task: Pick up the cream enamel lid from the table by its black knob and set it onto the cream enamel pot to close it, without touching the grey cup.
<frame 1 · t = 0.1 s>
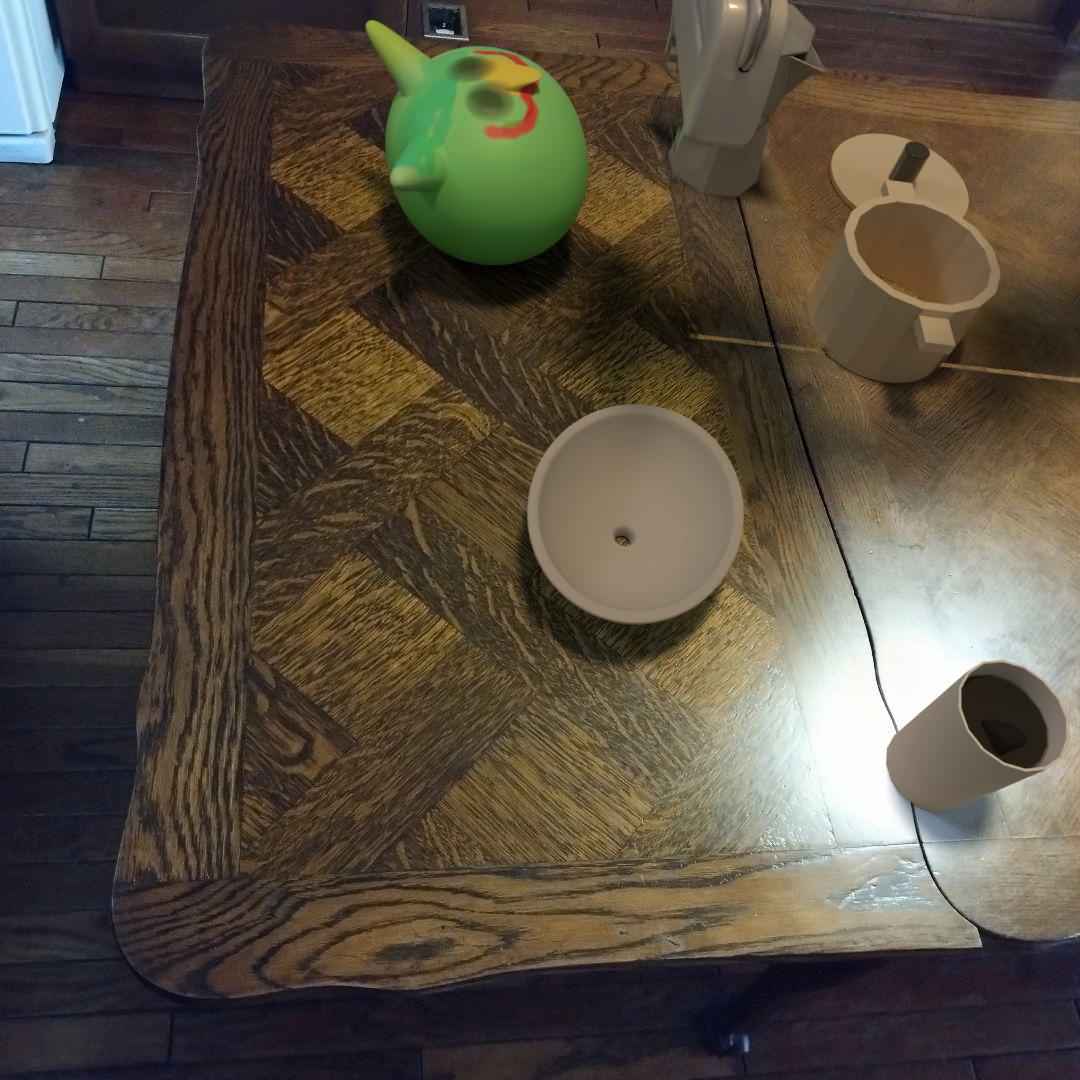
hand: (681, 111, 62), 20 cm above the table, tool pointing down, fingers open, 8 cm apart
toy bird: (471, 227, 83), on the table
coffee maker: (701, 166, 92), on the table
pot: (875, 325, 85), on the table
dish: (620, 544, 70), on the table
lid: (897, 185, 94), point 1 cm above the table
grey cup: (927, 769, 64), on the table
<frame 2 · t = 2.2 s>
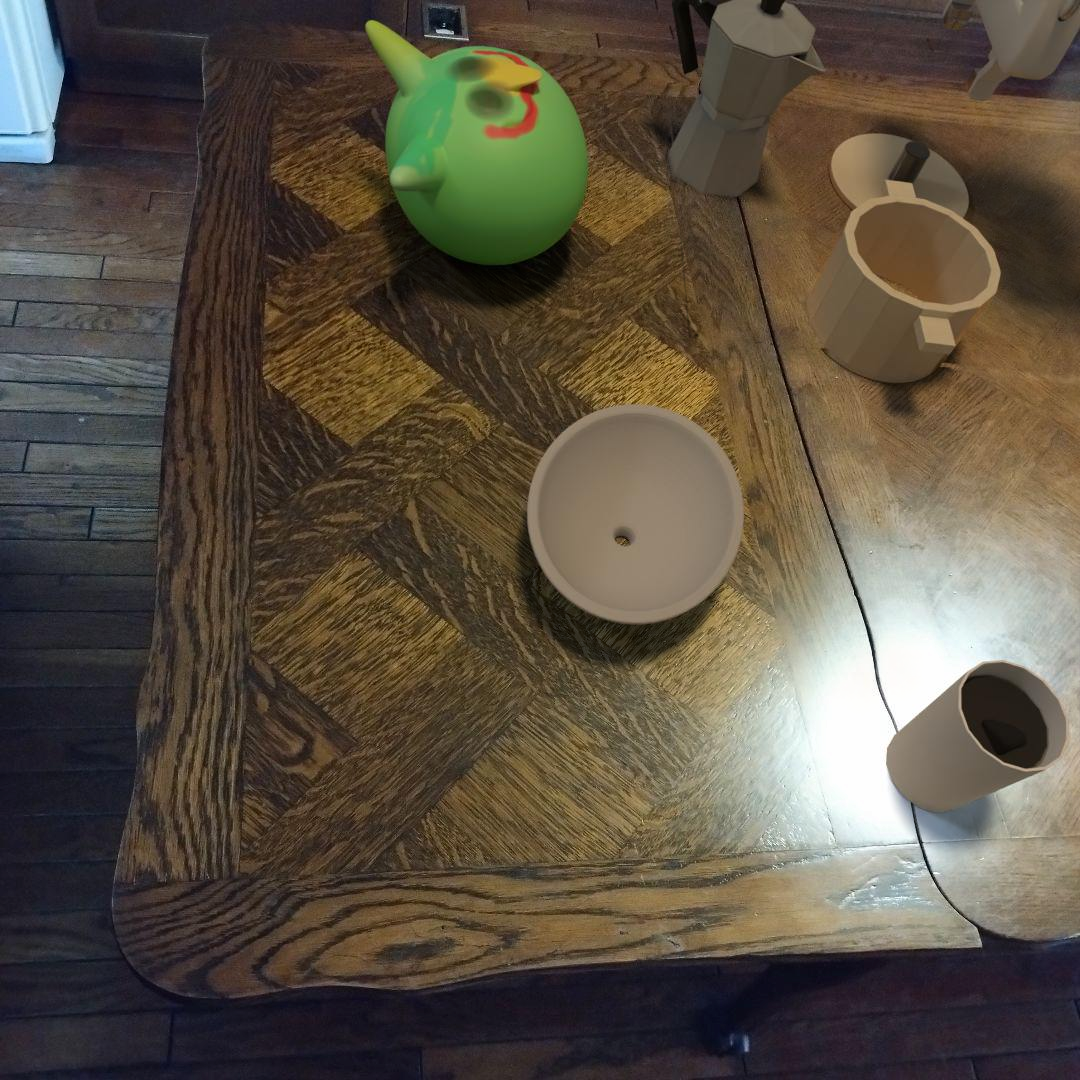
hand: (962, 58, 82), 14 cm above the table, tool pointing down, fingers open, 8 cm apart
nothing on the table moved.
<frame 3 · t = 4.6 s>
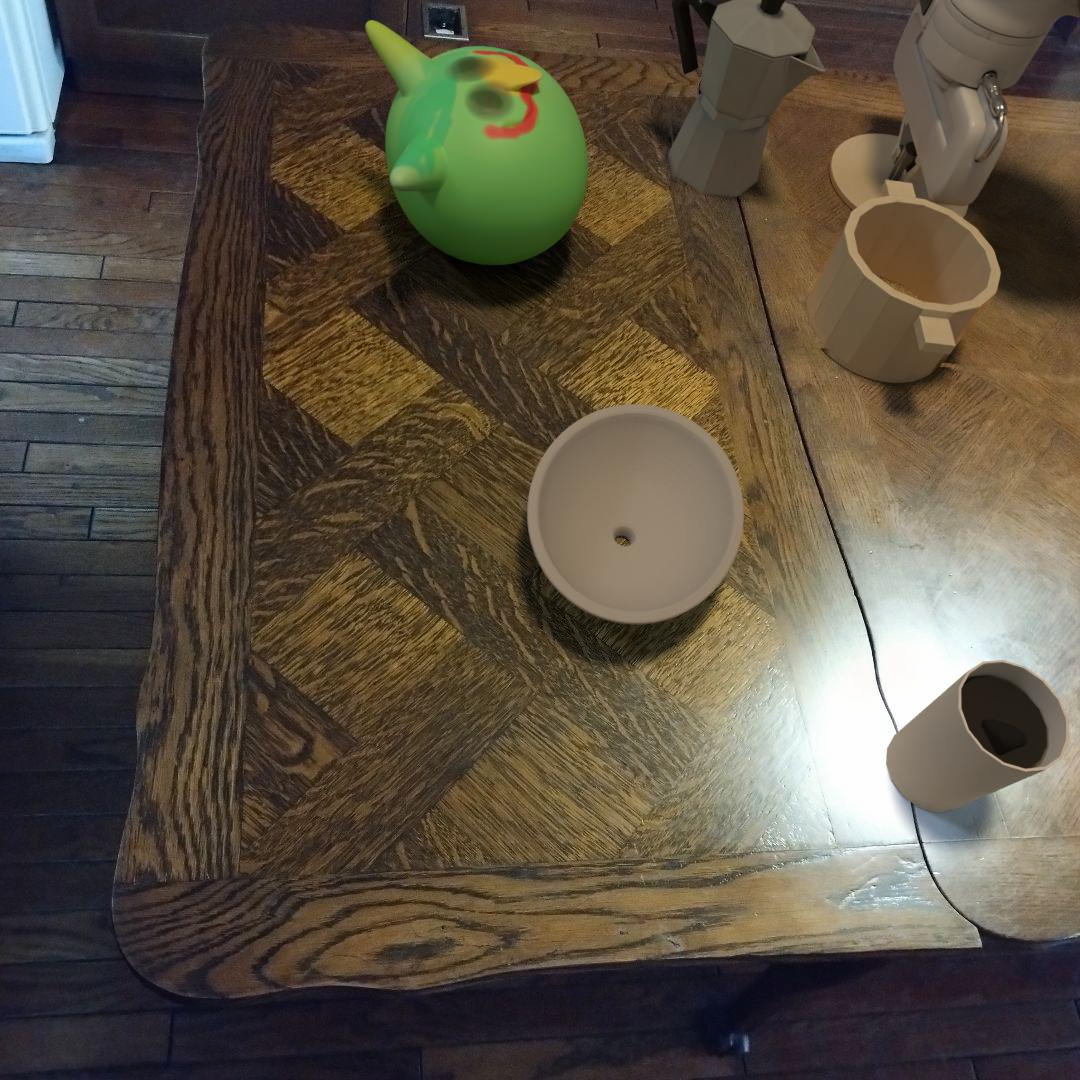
hand: (903, 176, 93), 2 cm above the table, tool pointing down, fingers closed on lid, 2 cm apart
lid: (897, 185, 94), point 1 cm above the table, touching gripper
everything else where it was.
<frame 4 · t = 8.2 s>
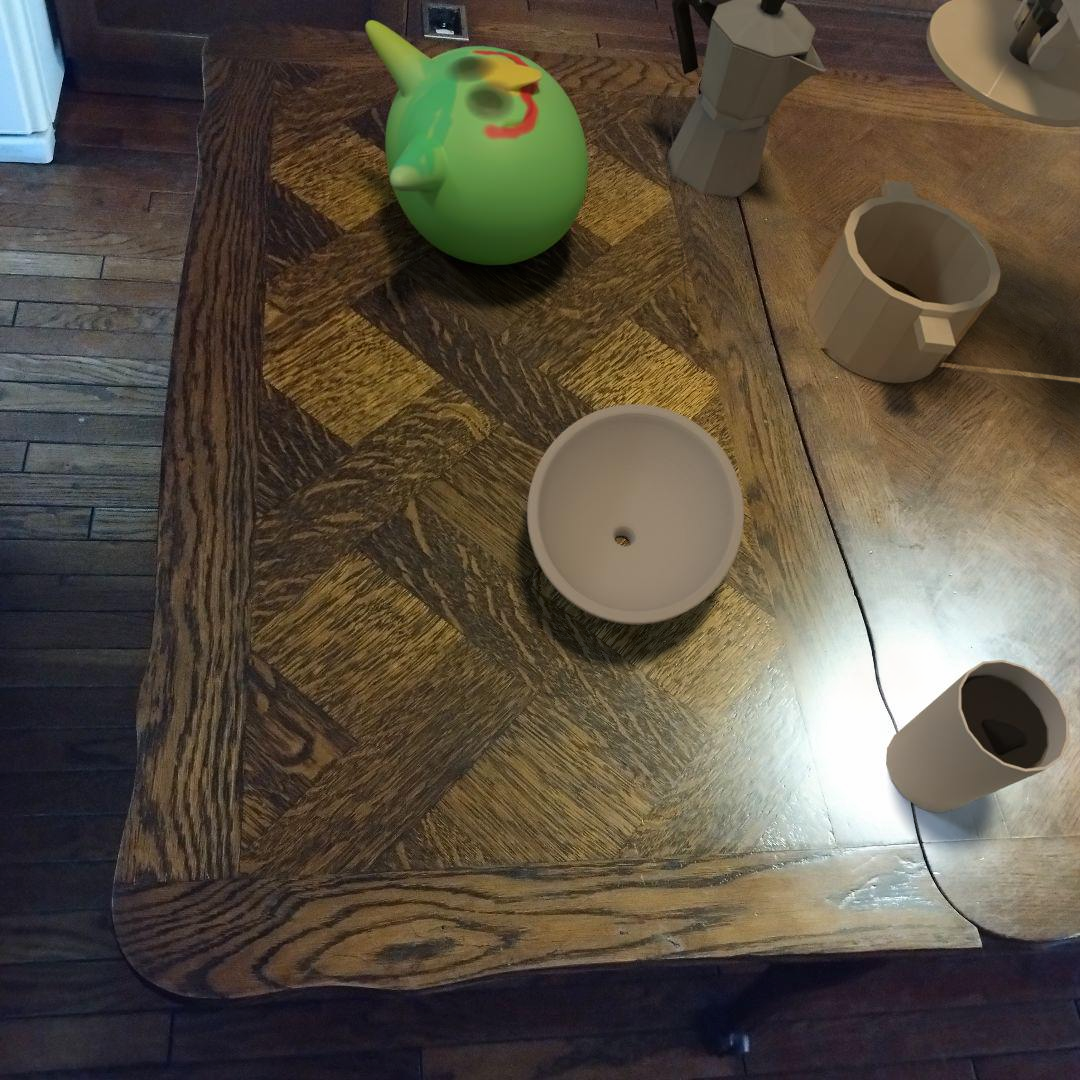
hand: (1030, 47, 67), 23 cm above the table, tool pointing down, fingers closed on lid, 2 cm apart
lid: (1020, 62, 68), point 22 cm above the table, touching gripper
everything else where it was.
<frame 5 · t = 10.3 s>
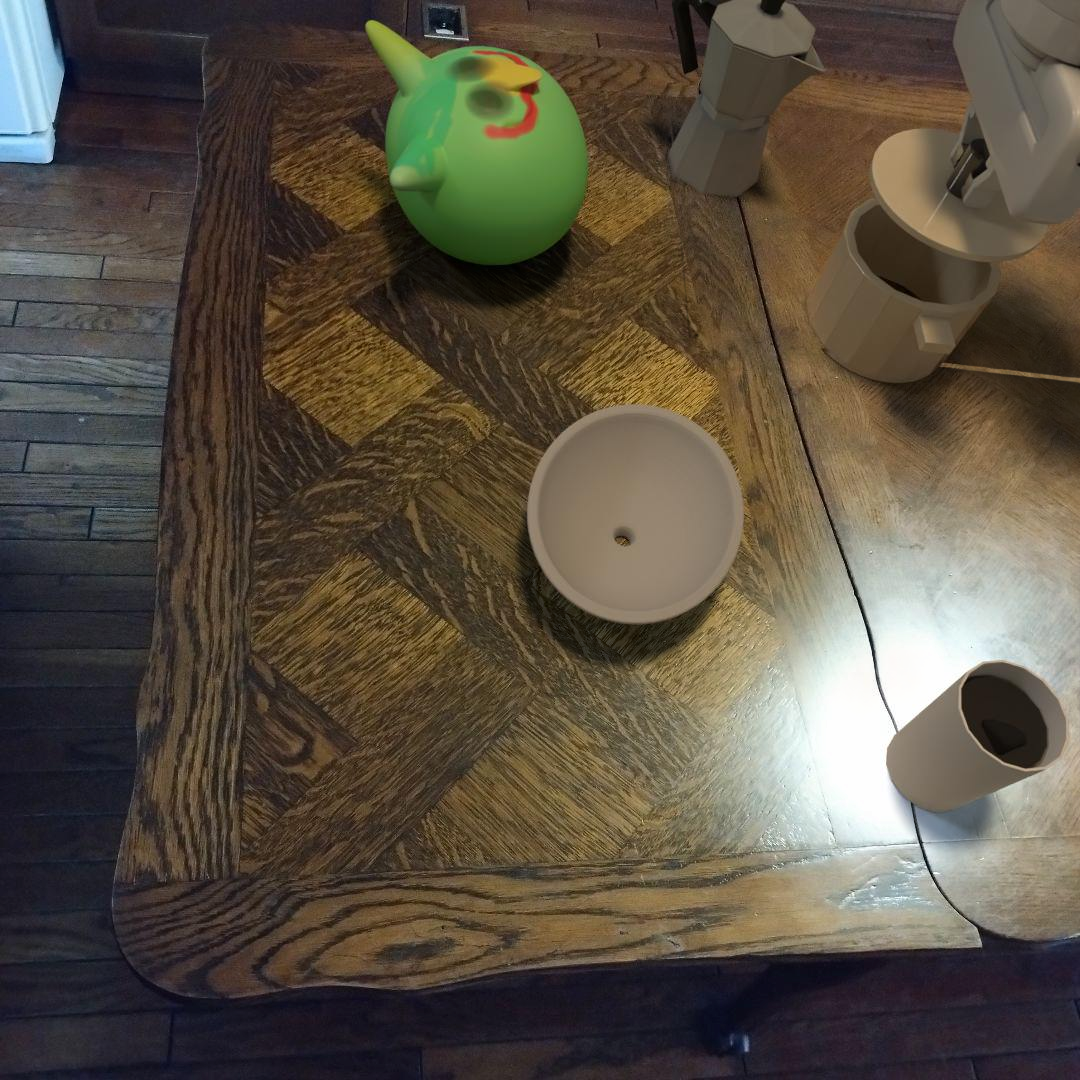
hand: (965, 183, 72), 15 cm above the table, tool pointing down, fingers closed on lid, 2 cm apart
lid: (957, 195, 73), point 14 cm above the table, touching gripper
everything else where it was.
when the fingers open (9 cm above the table, at t = 11.9 s): lid stays where it is, resting on pot.
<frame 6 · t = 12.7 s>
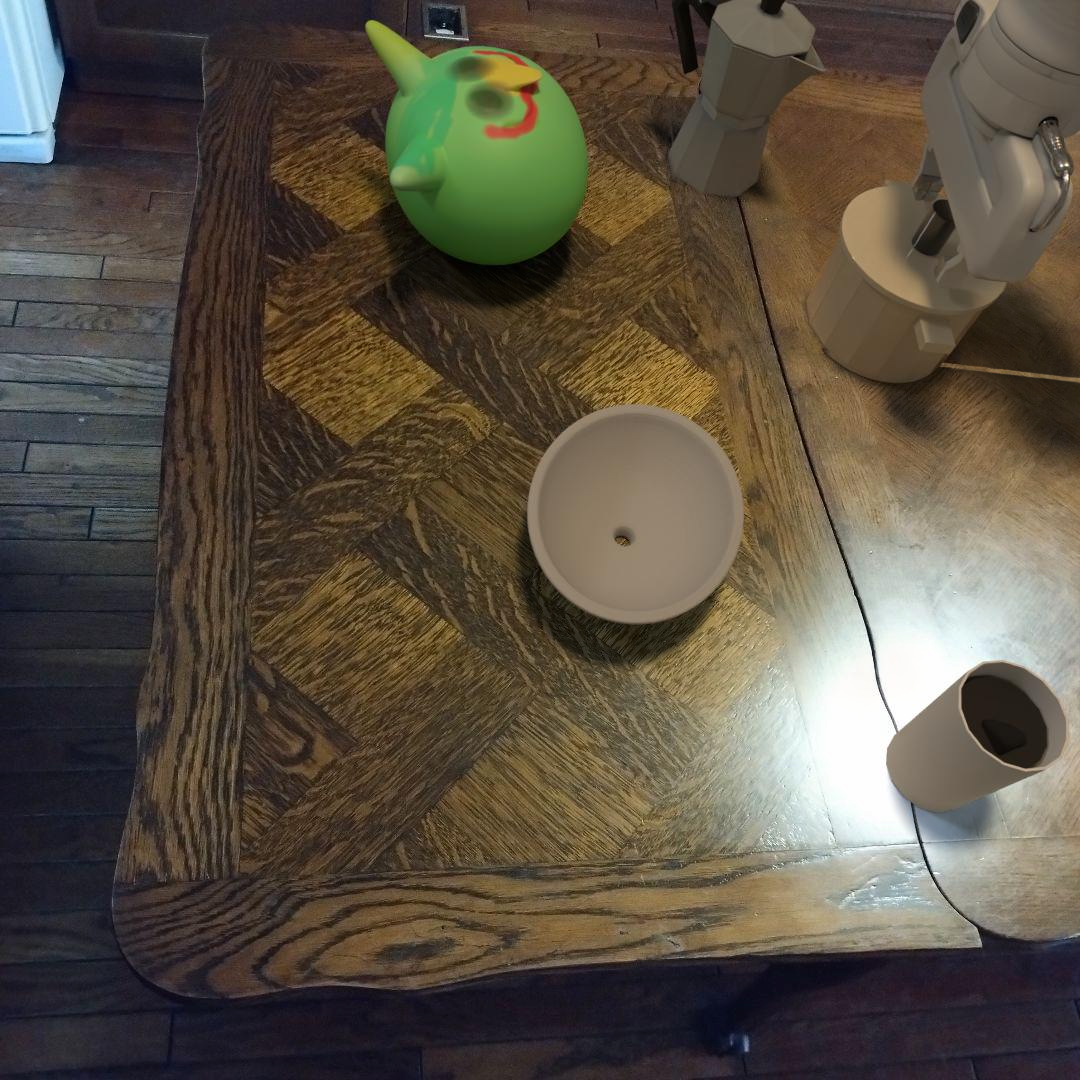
hand: (932, 236, 76), 10 cm above the table, tool pointing down, fingers open, 8 cm apart
lid: (922, 251, 77), point 8 cm above the table, touching pot
everything else where it was.
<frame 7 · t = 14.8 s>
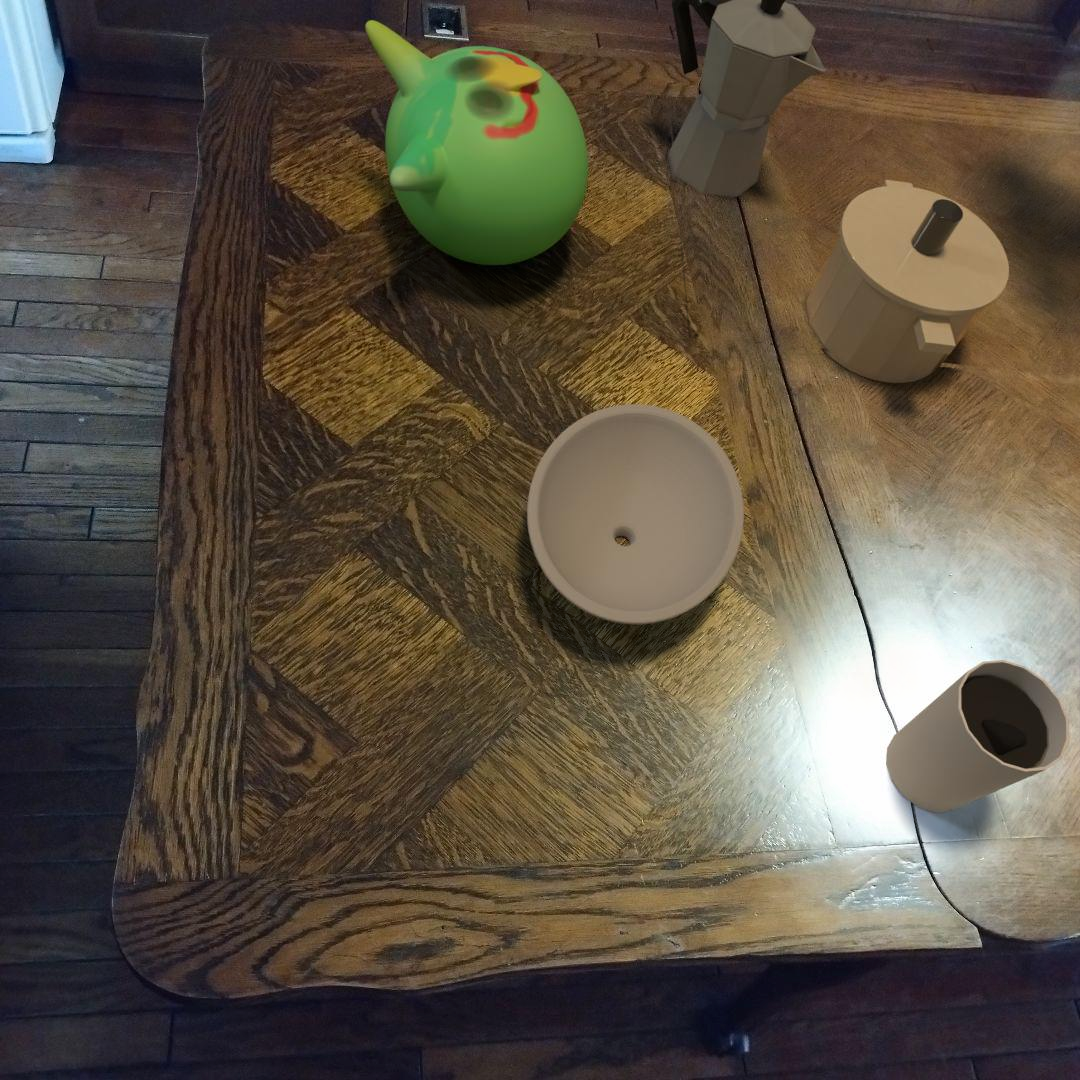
nothing on the table moved.
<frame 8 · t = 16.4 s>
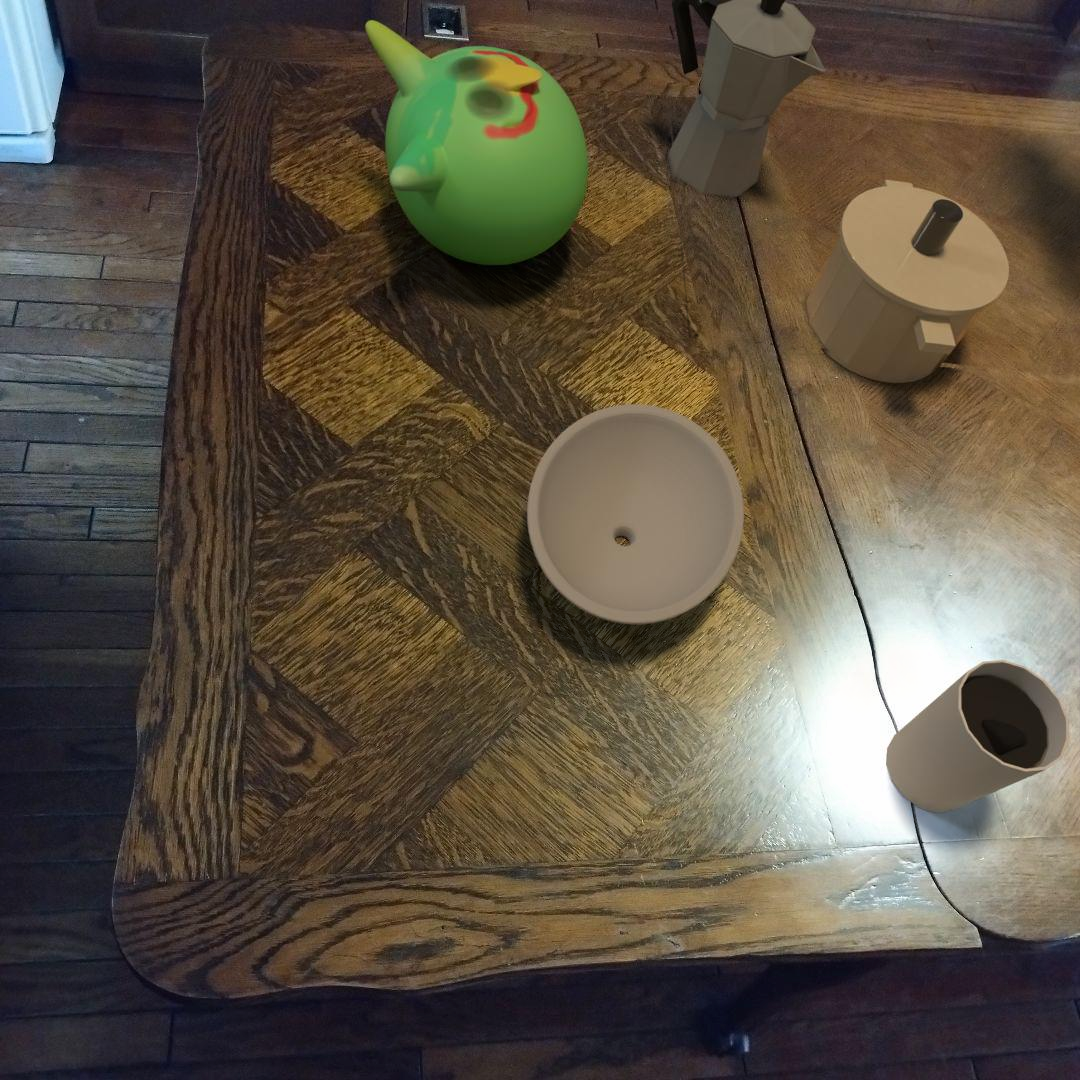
nothing on the table moved.
at the end: lid 0.1 cm off-centre on the pot, point 8.5 cm above the pot's base; lid tilted 0°; lid touching pot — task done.
